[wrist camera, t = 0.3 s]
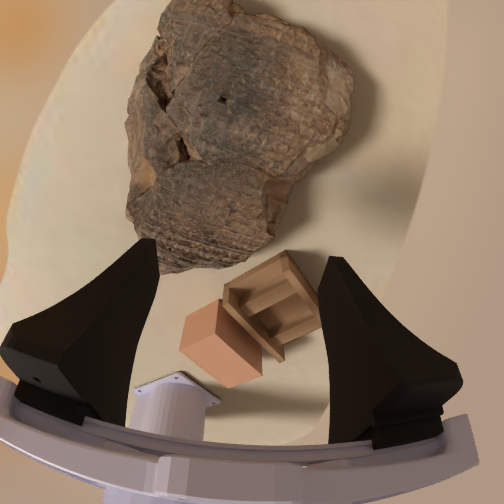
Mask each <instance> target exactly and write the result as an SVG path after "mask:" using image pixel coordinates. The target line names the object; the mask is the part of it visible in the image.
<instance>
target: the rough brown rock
mask: <svg viewBox="0 0 504 504" xmlns="http://www.w3.org/2000/svg"><path fill="white" fill-rule="evenodd" d="M157 29H158V31H159V33H160V37H159V36H157V35H156V38H155V40H154V43H153V45H152V47H151V49H150V51H149V52H148V54H147V55H146V56H145V58H144V59H143V60H142V62H141V63H140V69H139V74H138V76H137V77H136V80H135V83H134V87H133V90H132V93H131V96H130V98H129V99H128V108H127V113H128V114H129V116H128V118H127V120H126V121H125V128H126V132H127V136H128V140H129V142H128V166H129V169H130V172H131V182H130V191H129V193H128V199H127V205H126V218H127V219H128V220H130V221H131V222H132V223H133V224H134V228H135V231H136V233H137V235H138V237H139V240H140V239H141V238H151V239H156V247H157V256H158V264H159V272H160V275H164V274H169V273H176V274H178V273H181V272H184V271H187V270H190V269H193V268H213V269H222V268H227V267H231V266H234V265H236V264H238V263H240V262H245V261H246V260H247V259H248V258H249V257H250V256H251V255H252V254H253V253H254V252H255V251H257V250H258V249H259V248H261V247H264V246H265V245H267V244H268V243H269V242H270V241H272V240H273V238H274V237H275V235H274V232H275V229H276V228H277V227H278V225H279V224H280V221H281V219H282V216H283V211H284V209H285V206H286V205H287V204H288V197H289V195H290V193H291V191H292V188H293V185H294V183H295V182H298V181H300V180H301V179H303V178H304V177H305V176H306V174H307V172H308V171H309V170H310V169H311V168H313V167H314V166H315V165H316V164H317V163H318V161H319V160H320V158H322V157H324V156H327V155H329V154H331V153H333V152H334V151H335V150H336V149H337V147H338V146H339V145H340V144H341V143H342V141H343V139H344V137H345V135H346V133H347V131H348V129H349V125H350V115H351V103H350V98H351V95H352V92H353V89H354V85H355V80H354V75H353V73H352V71H351V68H350V67H349V66H348V65H347V64H345V63H344V62H342V61H340V60H339V58H338V57H337V56H336V55H335V54H334V53H332V52H331V51H330V50H329V49H328V48H326V47H325V46H323V45H322V44H321V43H319V42H318V41H317V40H316V39H315V38H314V36H313V35H312V34H311V33H310V32H308V31H307V30H306V29H305V28H304V27H293V26H291V25H290V23H288V22H285V21H283V20H282V19H280V18H277V17H275V16H272V15H268V14H260V13H258V14H256V15H254V16H252V15H248V14H245V11H244V10H243V8H242V7H241V6H239V5H237V4H235V3H233V0H172V1H171V2H170V3H169V4H168V6H167V7H166V9H165V11H164V12H163V13H162V14H161V17H160V21H159V24H158V28H157Z"/></svg>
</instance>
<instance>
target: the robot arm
mask: <svg viewBox="0 0 504 504" xmlns="http://www.w3.org/2000/svg"><path fill="white" fill-rule="evenodd" d="M159 278H160V272H159V264H158V256H157V247H156V239H151V238H141V239H140V240H139V241H138V242H136V243H135V244H134V245H133V246H132V247H131V248H130V249H129V250H128V251H126V252H125V253H124V254H123V255H122V256H121V257H120V258H119V259H117V260H116V261H115V262H114V263H113V264H112V265H111V266H109V267H108V268H107V269H106V270H105V271H103V272H102V273H101V274H100V275H98V276H97V277H96V278H95V279H94V280H92V281H91V282H90V283H88V284H87V285H85V286H84V287H83V288H81V289H80V290H78V291H77V292H75V293H74V294H72V295H70V296H69V297H67V298H65V299H64V300H62V301H60V302H59V303H57V304H55V305H54V306H52V307H50V308H48V309H46V310H44V311H42V312H40V313H38V314H35V315H33V316H31V317H28V318H26V319H23V320H21V321H18V322H16V323H13V324H12V326H11V328H10V329H9V331H8V333H7V335H6V337H5V339H4V341H3V342H2V344H1V346H0V355H1V357H2V359H3V360H4V362H5V363H6V364H7V366H8V367H9V368H10V369H11V370H12V371H13V372H14V374H15V375H16V376H17V377H18V378H19V379H20V381H19V383H18V385H16V384H15V383H13V382H12V381H10V380H7V379H6V378H3V377H1V376H0V441H1V442H3V443H4V444H6V445H7V446H9V447H11V448H12V449H14V450H16V451H18V452H20V453H22V454H24V455H25V456H27V457H29V458H31V459H33V460H35V461H37V462H39V463H41V464H44V465H46V466H48V467H50V468H52V469H55V470H57V471H59V472H61V473H63V474H66V475H68V476H71V477H73V478H76V479H79V480H81V481H84V482H87V483H89V484H92V485H95V486H98V487H101V488H104V489H105V492H104V498H103V504H362V503H367V502H372V501H377V500H380V499H385V498H389V497H393V496H396V495H400V494H404V493H407V492H410V491H414V490H417V489H420V488H423V487H426V486H429V485H432V484H435V483H438V482H441V481H443V480H446V479H448V478H451V477H453V476H455V475H457V474H459V473H462V472H464V471H466V470H468V469H470V468H472V467H474V466H476V465H478V464H479V458H478V453H477V449H476V445H475V441H474V437H473V433H472V429H471V426H470V422H469V418H468V415H467V414H463V415H459V416H456V417H452V418H449V419H446V420H444V421H441V417H440V415H442V414H443V412H444V411H443V407H442V405H443V404H444V403H446V402H447V401H448V400H449V399H450V398H452V397H453V396H454V395H455V394H456V393H457V392H458V391H459V390H460V389H461V387H462V385H463V379H462V377H461V374H460V371H459V368H458V366H457V363H455V362H454V361H452V360H450V359H449V358H447V357H445V356H443V355H442V354H440V353H438V352H437V351H436V350H434V349H433V348H431V347H430V346H428V345H427V344H426V343H424V342H423V341H421V340H420V339H419V338H418V337H416V336H415V335H414V334H413V333H411V332H410V331H409V330H408V329H407V328H406V327H404V326H403V325H402V324H401V323H400V322H399V321H398V320H397V319H396V318H395V317H394V316H393V315H392V314H391V313H390V312H389V311H388V310H387V309H386V308H385V307H384V306H383V305H382V304H381V303H380V302H379V300H378V299H377V298H376V297H375V296H374V295H373V294H372V292H371V291H370V290H369V289H368V288H367V286H366V285H365V284H364V283H363V281H362V280H361V279H360V278H359V276H358V275H357V274H356V273H355V271H354V270H353V269H352V268H351V266H350V265H349V264H348V263H347V261H346V260H345V259H344V258H343V257H336V256H329V259H328V262H327V265H326V268H325V271H324V274H323V277H322V280H321V282H320V285H319V288H318V305H319V314H320V320H321V325H322V330H323V335H324V340H325V345H326V351H327V356H328V364H329V380H330V426H329V441H328V444H324V445H304V446H303V445H302V446H263V445H241V444H227V443H216V442H206V441H203V436H204V424H205V413H206V408H209V407H212V406H215V405H219V404H220V403H221V400H220V399H218V398H217V397H215V396H214V395H212V394H211V393H209V392H208V391H206V390H205V389H204V388H202V387H201V386H199V385H198V384H196V383H195V382H194V381H192V380H191V379H190V378H188V377H187V376H185V375H184V374H183V373H181V372H177V373H174V374H172V375H169V376H166V377H164V378H161V379H159V380H156V381H153V382H151V383H148V384H145V385H143V386H140V387H137V388H134V389H132V393H133V394H135V395H136V400H135V404H134V408H133V412H132V416H131V420H130V424H129V428H127V427H125V420H126V409H127V400H128V392H129V385H130V379H131V374H132V368H133V363H134V358H135V354H136V349H137V345H138V342H139V339H140V336H141V333H142V330H143V328H144V325H145V322H146V319H147V317H148V314H149V311H150V309H151V306H152V303H153V301H154V298H155V294H156V290H157V287H158V282H159ZM302 466H307V467H306V468H302Z"/></svg>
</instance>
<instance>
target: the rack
mask: <svg viewBox="0 0 504 504" xmlns="http://www.w3.org/2000/svg"><path fill="white" fill-rule="evenodd" d="M222 306H223V307H224V308H225V309H226V310H227V312H228V313H229V314H230V315H231V316H232V317H233V318H234V319H235V320H236V321H237V322H238V323H239V324H240V325H241V326H242V327H243V328H244V329H245V330H246V331H247V332H248V333H249V334H250V335H251V336H252V337H253V338H254V339H255V340H257V341H258V342H259V343H260V344H261V345H262V346H263V347H264V348H265V349H266V350H267V351H268V352H269V353H270V354H271V355H272V356H273V357H274V358H275V359H276V360H277V361H278V362H279V363H281V362H283V361H285V355H284V347H283V345H285V344H287V343H290V342H292V341H294V340H296V339H298V338H300V337H302V336H304V335H307V334H309V333H311V332H313V331H315V330H317V329H319V328H321V327H322V325H321V320H320V314H319V305H318V295H317V294H316V292H315V291H314V290H313V288H312V287H311V285H310V284H309V282H308V281H307V280H306V278H305V277H304V275H303V274H302V272H301V271H300V270H299V268H298V267H297V265H296V264H295V263H294V261H293V260H292V258H291V257H290V256H289V254H288V253H287V251H286V250H284V251H283V252H281V253H279V254H278V255H276V256H274V257H272V258H271V259H269V260H267V261H265V262H264V263H262V264H260V265H258V266H257V267H255V268H253V269H251V270H250V271H248V272H246V273H244V274H243V275H241V276H239V277H237V278H236V279H234V280H232V281H230V282H229V283H227V284H225V285H224V291H223V302H222Z"/></svg>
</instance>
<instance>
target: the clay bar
mask: <svg viewBox="0 0 504 504" xmlns="http://www.w3.org/2000/svg"><path fill="white" fill-rule="evenodd" d="M179 351H180V352H181V353H183V354H184V355H185V356H186V357H188V358H189V359H190V360H191V361H193V362H194V363H195V364H196V365H198V366H199V367H200V368H201V369H203V370H204V371H205V372H207V373H208V374H209V375H211V376H212V377H213V378H215V379H216V380H217V381H219V382H220V383H221V384H223V385H224V386H225V387H227V388H231V387H234V386H236V385H239V384H242V383H245V382H247V381H250V380H253V379H255V378H258V377H260V376H263V375H262V356H261V344H260V343H259V342H258V341H257V340H255V339H254V338H253V337H252V336H251V335H250V334H249V333H248V332H247V331H246V330H245V329H244V328H243V327H242V326H241V325H240V324H239V323H238V322H237V321H236V320H235V319H234V318H233V317H232V316H231V315H230V314H229V313H228V312H227V310H226V309H225V308H224V307H223V306H222V302H221V301H220V300H219V299H218V300H216V301H214V302H212V303H210V304H208V305H207V306H205V307H203V308H201V309H199V310H197V311H195V312H194V313H192V314H190V315H188V316H186V319H185V324H184V328H183V333H182V338H181V343H180V347H179Z"/></svg>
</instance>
